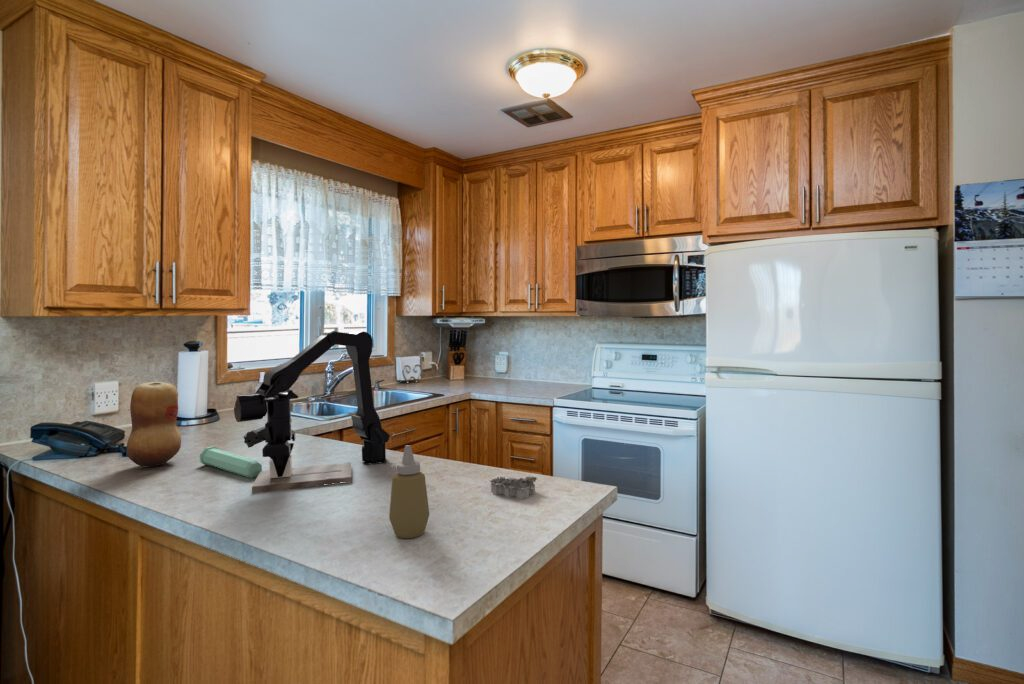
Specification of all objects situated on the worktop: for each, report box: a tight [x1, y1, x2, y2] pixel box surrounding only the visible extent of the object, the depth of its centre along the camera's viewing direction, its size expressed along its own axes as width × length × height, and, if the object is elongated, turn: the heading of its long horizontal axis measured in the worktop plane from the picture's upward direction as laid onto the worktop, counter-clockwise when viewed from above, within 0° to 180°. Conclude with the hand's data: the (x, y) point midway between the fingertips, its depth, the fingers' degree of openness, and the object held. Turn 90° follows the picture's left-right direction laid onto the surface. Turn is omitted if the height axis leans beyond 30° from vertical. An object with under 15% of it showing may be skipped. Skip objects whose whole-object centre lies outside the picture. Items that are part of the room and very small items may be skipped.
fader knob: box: [269, 454, 293, 478], centre depth 141 cm, size 5×4×5 cm
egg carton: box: [489, 476, 538, 500], centre depth 130 cm, size 11×8×4 cm
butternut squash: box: [126, 381, 182, 467], centre depth 158 cm, size 14×13×25 cm
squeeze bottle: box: [388, 444, 430, 539], centre depth 106 cm, size 8×8×18 cm
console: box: [251, 462, 352, 493], centre depth 143 cm, size 24×14×2 cm, turn 107°
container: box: [199, 445, 263, 479], centre depth 152 cm, size 6×6×25 cm
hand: (281, 474), depth 141 cm, fingers closed on fader knob, 4 cm apart
